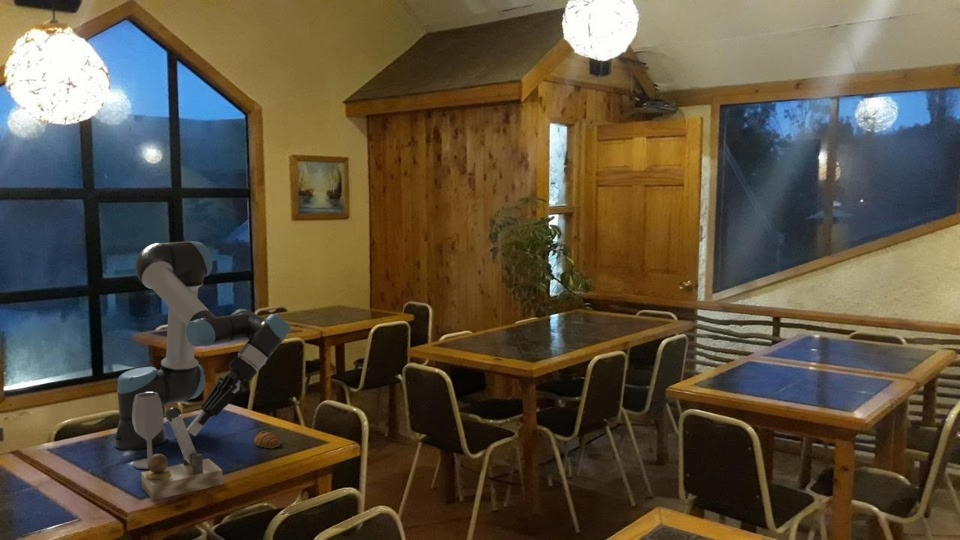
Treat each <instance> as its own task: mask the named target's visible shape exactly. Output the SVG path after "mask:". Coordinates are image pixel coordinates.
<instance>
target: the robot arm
mask: <svg viewBox="0 0 960 540" xmlns="http://www.w3.org/2000/svg"><path fill="white" fill-rule="evenodd" d="M134 266H135V267H134V268H135V273H136V276H137V279H138V280H139V282H141V283H142V285H144V287H145V288H147V289H150V290H153V292H154V293H156V294H157V296H158V297H159V298H160V299H161V300H162V301H163V302H164V303H165V304H166V305H167V307H168V313H167V333H166V349H165V350H166V355H165V357H164V358H163V359H161V361H160V369H157V368H156V367H154V366H144V367H137V368H134V369H133V368H132V369H129V370H127V371H124V372H123V373H121V374H120V375H119V376H118V379H117V388H116V392H117V400H118V403H117V404H118V414H119V422H118V426H117V428H116V432H115V436H114V447H115V448H116V449H120V450H140V449H147V440H145V439H144V438H142V437H141V436H140V435H138V434H137V433H136V432H135V429H134V426H133V423H132V409H133V402H134V398H135V395H137V394H140V393H145V392H156V393H158V395H159V397H160V400H161V404H162V406H167V405H172V404H176V403H180V402H186V401H189V400H193V399H196V398H197V397H199V396H200V395H201V394H202V393H203V390H204V388H205V385H206V384H205V383H206V375H205V374H204V372H205V370H204V368H203V367H202V365H201V364H199V361H198V359H196V358H195V348H196V347H197V348H198V347H208V346H213V345H218V344H223V343H230V342H236V341H240V340H243V341H244V340H248V341H247V342H246V343H245V344H244V346H242V348H241V349H240V350H239V351H238V353H237V356H235V357H234V358H232V360H231V361H230V362H229V363H228V368H229V369H230V371H229V372H228V373H227V374H226V375H225V376H224V377H222V376H221V377H219V378H218V380H217V382H216V384H215V385H214V387H213V388H212V389H211V391H210V392H209V393H208V394H207V396H206V398H205V400H204V401H203V403H202V404H201V407H202V408H201V411H200V412H199V413H198V414H197V416H196V417H195V418H194V419H193V420H192V421H191V423H190V424H189V425H188V426H187V427H186V428H187V431H188V433H189V434H190V435H192V436H193V437H196V436H197V435H198V434H199V432H200V431H201V430H202V429H203V428H204V426H205V425H206V424H207V423H208V421H209V420H210V419H211V418H213V417H214V416H215V417H217V416H218V415H219V414H220V413H221V412H222V411H223V410H224V409H225V407H227V406H228V405H229V404H230V403H231V401H233V399H234V398H235V397H236V396H238V395H239V394H241V392H242V390H243V389H242V388H241V387H242V385H243V382H244V381H246V382H248V383H249V382H251V381H252V379H254V377H255V376H256V375H257V372H258V371H259V370H261V368H262V367H263V366H265V365H266V364H267V363H266V362H267V360H269V359H270V357H271V356H272V355H273V353H274V352H275V351H276V349H278V347H279V346H281V344H282V343H283V342H284V341H285V339H286V337H287V336H288V335H289V334H290V332H291V327H290V325H289V324H288V322H286V321H285V320H284V319H283V318H282V317H280V316H279V315H277V314H275V313H270V314H269V315H268V316H267V317H266V318H264V317H263V316H260V315H258V314H257V313H255V312H253V311H251V310H249V309H246V308H238V309H237V310H235V311H234V312H232V313H231V314H230V315H223V316H215V314H213V313H212V312H211V311H210V310H209V308H208V307H207V306H205V305H204V303H203V302H202V301H201V300H200V299H199V298H198V293H199V288H201V287H202V286H203V285H204V278H205V277H206V278H207V277H208V276H209V275H210V274H211V273H212V270H213V260H212V257H211V253H210V251H209V249H208V248H207V246H206V245H205V244H204V243H202V242H200V241H190V240H186V241H184V240H183V241H173V242H172V241H171V242H170V241H169V242H155V243H152V244H149V245H148V246H146V247H145V248H143V249H142V250H141V251H140V252H139V254H138V255H137V258H136V261H135V265H134ZM166 440H167V432H166V430H165V427H164V426H163V427H162V431H161V432H159V433H158V434H157V435H156V436H155V437H154V438H153V439H152V447H156V446H158V445H161V444H163V443H164V442H166Z"/></svg>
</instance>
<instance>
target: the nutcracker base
mask: <svg viewBox="0 0 960 540" xmlns="http://www.w3.org/2000/svg"><path fill="white" fill-rule="evenodd" d="M168 462H169V461H168V459H167V456H166V455H164V454H162V453H154V454H152V456H151V457H150V458H149V460H148V463H147V466H148V469H147V470H146V471H141V472H140V479H141V488H142V489H143V490H144V491H145V493H146V494H147V495H148V496H149V498H150V499H151V500H152V501H156V500H161V499H165V498H170V497H173V496H178V495H183V494H188V493H190V492H195V491H200V490H205V489H208V488H209V489H210V488H213V487H217V486H222V485H223V484H224V479H223V469H222V468H221V467H220V466H219V465H217V464H216V463H215V462H214V461H212V460H211V459H210V458H205V459H203V454H202V453H197V455H193V456H192V466H191V465H190V464H189V463H188V462H187V461H186V460H185V459H184V456H183V455H182V463H179V464H176V465H175V464H174V465H170V466H168Z"/></svg>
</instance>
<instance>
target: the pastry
mask: <svg viewBox="0 0 960 540" xmlns="http://www.w3.org/2000/svg"><path fill="white" fill-rule="evenodd" d="M253 443H254V445H255V446H257V447H258V446H260V447H259V448H262V447H264V448H263V449H267V448H269V449H274V448H277V447H281V446H280V445H281V444H282V442H281V439H280V438H279V437H278V435H276V433H273V432H271V431H270V432H268V431H266V430H265V431H260V432H258V433H257V434H256V435H255V437H254V439H253Z"/></svg>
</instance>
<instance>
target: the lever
mask: <svg viewBox="0 0 960 540" xmlns="http://www.w3.org/2000/svg"><path fill="white" fill-rule="evenodd" d="M182 413H183V412H182V410H181V409H180V408H178V407H177V406H175V407H174V406H173V407H170V408H168V409H167V410H166V411H165V419H166V420H167V421H168V422H169V425H170V428H171V430H172V432H173V434H174V437H175V439H176V441H177V444H178V447H179V448H180V451H181V453H182V457H183V456H184V459H185V460H186V461H187V462H188V463H189V464H190V465H191V466H192V456H193V455H198V453H197V451H196V449H195V445H194V444H193V441H192V438H191V436H190V433H189V432H188V431H187V428H188V427H186V423H185V421H184V418H183V416H182Z"/></svg>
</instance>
